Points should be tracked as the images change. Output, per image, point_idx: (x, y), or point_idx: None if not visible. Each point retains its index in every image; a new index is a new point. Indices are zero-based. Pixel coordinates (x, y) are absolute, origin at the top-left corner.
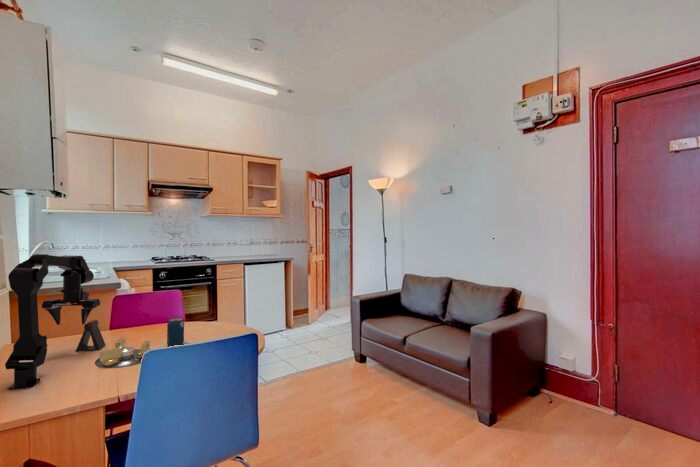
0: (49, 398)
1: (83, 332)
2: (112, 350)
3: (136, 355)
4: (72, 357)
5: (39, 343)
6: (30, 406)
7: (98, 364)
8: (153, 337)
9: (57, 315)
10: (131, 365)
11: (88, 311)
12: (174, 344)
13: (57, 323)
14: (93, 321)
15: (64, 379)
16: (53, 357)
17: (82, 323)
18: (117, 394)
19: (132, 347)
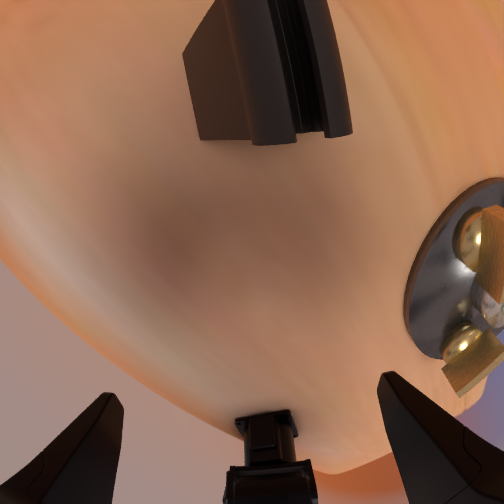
0: (362, 444)
1: (244, 139)
2: (487, 374)
3: None
4: (252, 233)
5: None
6: (344, 459)
7: (426, 344)
8: None
9: (92, 497)
10: (499, 330)
11: (487, 480)
12: None
13: (118, 424)
14: (316, 21)
15: (352, 400)
16: (150, 237)
17: (383, 404)
18: (463, 408)
19: None
